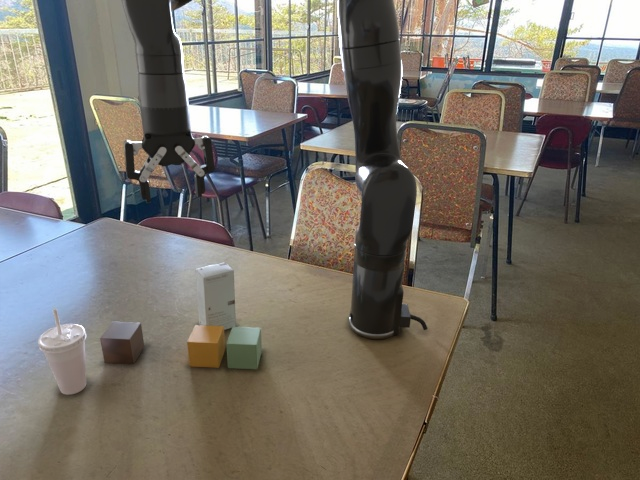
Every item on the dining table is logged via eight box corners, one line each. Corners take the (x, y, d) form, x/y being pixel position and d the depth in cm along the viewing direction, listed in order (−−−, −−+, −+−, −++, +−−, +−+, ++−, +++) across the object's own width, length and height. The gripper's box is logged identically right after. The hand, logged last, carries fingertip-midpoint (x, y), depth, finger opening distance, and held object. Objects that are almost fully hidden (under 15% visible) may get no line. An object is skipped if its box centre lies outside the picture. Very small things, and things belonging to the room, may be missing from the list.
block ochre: (225, 349, 85) (223, 326, 83) (218, 367, 81) (217, 343, 79) (197, 348, 85) (195, 324, 83) (189, 366, 81) (186, 341, 79)
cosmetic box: (207, 336, 89) (202, 278, 84) (198, 324, 92) (193, 268, 87) (237, 326, 92) (235, 270, 87) (228, 315, 96) (225, 260, 91)
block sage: (261, 351, 85) (261, 327, 83) (257, 369, 81) (256, 344, 79) (233, 350, 85) (232, 326, 83) (227, 368, 81) (226, 343, 79)
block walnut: (144, 346, 86) (141, 322, 84) (133, 364, 81) (129, 339, 79) (116, 345, 86) (112, 321, 84) (104, 362, 81) (99, 338, 79)
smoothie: (83, 368, 80) (68, 294, 74) (103, 385, 76) (88, 309, 70) (43, 387, 75) (23, 311, 70) (62, 407, 71) (43, 328, 66)
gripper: (118, 107, 71) (132, 210, 77) (214, 104, 76) (220, 200, 83) (115, 101, 77) (128, 197, 84) (203, 98, 83) (210, 188, 89)
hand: (174, 198), depth 83 cm, fingers open, 8 cm apart
